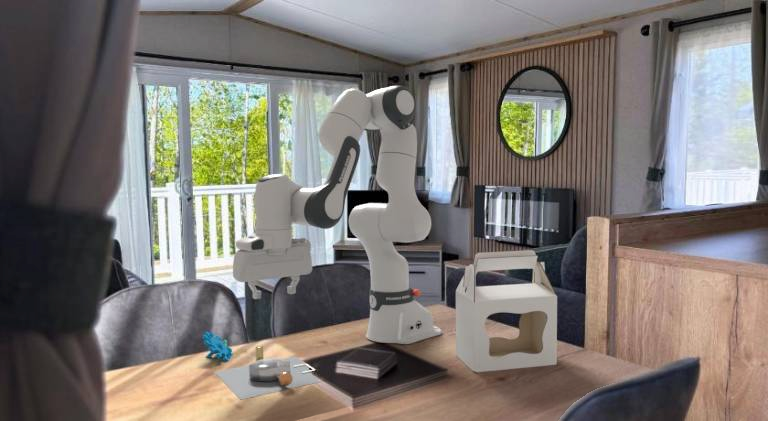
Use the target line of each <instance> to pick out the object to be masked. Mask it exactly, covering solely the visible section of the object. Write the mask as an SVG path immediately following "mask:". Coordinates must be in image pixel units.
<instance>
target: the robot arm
mask: <svg viewBox="0 0 768 421" xmlns="http://www.w3.org/2000/svg"><path fill="white" fill-rule="evenodd" d="M415 114H416V99H415V97H414V94H413V93H412V91H411V89H409V88H408V87H407V86H404V85H391V86H388V87H382V88H379V89H375V90H373V91H371V92H368V93H365V92H364V91H362V90H360V89H356V88H349V89H346V90H344V91H343V92H342V93H341V94H340V95H339V96H338V97H337V99H335V101H334V102H333V104H332V105H331V107H330V108H329V109H328V112H327V113H326V115H325V117H324V119H323V120H322V122H321V124H320V127H319V129H318V139H319V142H320V145H321V146H322V147H323V149H324V150H325V151H326V152H327V153H328V154H330V155H331V156H332V157H333V161H332V163H331V167H330V169H329V171H328V174H327V177H326V179H325V181H324V183H323V184H321V185H319V186H317V187H305V186H303V185H300V184H298V183H296V182H294V181H293V180H292V179H291V178H290V177H289V176H288V175H287V174H285V173H275V174H267V175H264V176H262V177H260V178H259V179H258V180H257V182H256V184H255V185H256V186H255V192H254V213H255V216H256V223H255V226H254V230H255V232H254V233H251V234H250V235H247V236H245V237H242V238H240V239H238V240H236V242H235V247H236V249H238V250H237V251H236V252H235V253H234V255H233V262H232V277H233V279H234V280H235V281H236V282H238V283H239V282H240V283H247V285H248V287H249V288H250V290H251V293H252V299H254V300H257V299H258V300H260V299H262V290H258V289H257V287H256V286H257V285H258V281H265V280H272V279H279V278H288V277H290V279H291V282H290V284H289V285H288V286H286V289H287V290H286V292H287V294H288V295H293V294H296V292H297V289H296V288H297V285H298V284H299V281H300V280H301V279H300V276H302V275H303V276H305V275H309V274H311V273H312V272H313V262H312V260H313V259H312V254H311V250H312V249H311V248H312V247H311V246H312V245H311V242H310V241H309V239H306V238H304V237H301V238H292V237H293V236H292V234H293V233H292V232H293V227H292V224H293V225H300V226H308V227H309V226H310V227H315V228H318V229H319V228H320V229H324V230H325V229H326V230H328V229H331V228H333V227H335V226H336V225H337V224H338V223H339V222H340V221H341V219H342V218H343V215H344V211H345V205H346V199H347V194H348V191H349V189H350V186H351V183H352V181H353V177H354V174H355V172H356V169H357V166H358V163H359V158H360V154H361V145H360V140H361V138H362V136H363V134H364V132H365V131H366V132H371V131H374V130H379V132H380V135H381V136H380V137H381V143H380V146H379V151H378V152H379V153H378V160H377V165H376V166H377V168H376V172H375V173H376V174H375V179H376V182H377V185H378V186H379V187H380V188H382V190H385V191H386V192H387V194H388V202H387V203H386V202H384V203H383V202H368V203H363V204H359V205H355V206H354V208H352V210H351V212H350V214H349V216H348V227H349V230H350V232H351V233H352V235H354V237H356V238H357V239H358V241H359V242H360V243H361V245H362V246H363V249H364V250H365V253H366V255H367V258H368V262H369V272H370V288H369V296H368V297H369V298H368V299H369V308H370V309H369V320H368V327H367V331H366V334H365V338H366V339H367V340H369V341H372V342H376V343H385V344H402V345H410V344H414V343H416V342H420V341H422V340H426V339H430V338H433V337H437V336H440V335H442V330H441V328H440V327H438V326H436V325H434V319H433V314H432V313H431V312H430V311H429V309H427V308H425V307H424V306H423V305H422V304H420V303H419V302H418V301H416V300H415V298H414V296H415V297H420V296H421V294H422V292H421V290H420V289H417V288H414V289H412V288H410V286H409V285H410V284H409V282H410V280H409V278H410V276H409V273H410V272H409V270H410V269H409V262H408V261H407V259H406V257H404V256H403V255H402V254H400V253H399V252H398V251H397V249H396V247H395V246H394V245H395V244H394V242H395V243H396V242H397V243H413V242H419V241H423V240H425V239H426V237H428V235H429V234H430V232H431V229H432V218H431V215H430V213H429V211H428V210H427V209H426V207H424V205H422V203H421V202H420V200H419V199H418V196H417V193H416V189H415V176H416V175H415V173H416V164H417V163H416V162H417V155H418V136H417V134H418V133H417V128H416V127H415V125H414V124H413V123H414V120H415Z"/></svg>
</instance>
